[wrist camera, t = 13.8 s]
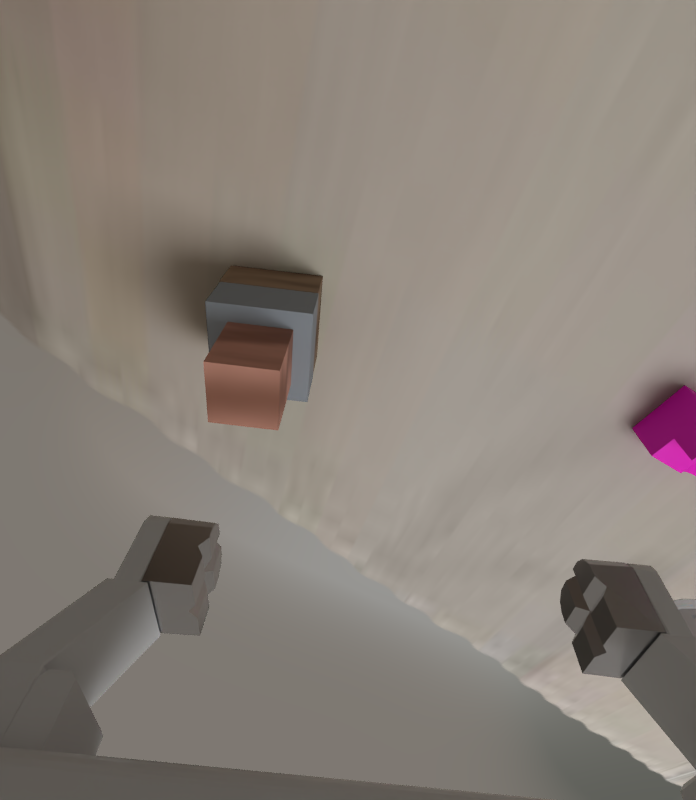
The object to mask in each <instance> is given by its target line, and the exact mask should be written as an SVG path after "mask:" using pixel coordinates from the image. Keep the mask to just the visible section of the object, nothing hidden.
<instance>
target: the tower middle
mask: <svg viewBox="0 0 696 800" xmlns="http://www.w3.org/2000/svg"><path fill="white" fill-rule="evenodd" d="M318 297H319V293H312V292H303V291H295V290H286V289H278V288H270V287H261V286H253V285H244V284H236V283H227V282H219V284H218V285H217V286H216V288H215V289H214V290H213V292H212V293H211V294H210V296H209V297H208V298H207V300H206V301H205V304H206V318H207V332H208V345H209V352H210V350H211V348H212V347H213V345H214V343H215V342H216V340H217V338H218V337H219V335H220V333H221V332H222V330H223V328H224V327H225V325H226V323H227V322H235V323H243V324H251V325H259V326H267V327H276V328H284V329H292V330H293V350H292V371H291V386H290V390H289V393H288V397H287V400H295V401H303V402H307V401H308V397H309V392H310V387H311V383H312V378H313V366H314V353H315V339H316V325H317V311H318Z"/></svg>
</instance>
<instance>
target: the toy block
mask: <svg viewBox="0 0 696 800" xmlns="http://www.w3.org/2000/svg"><path fill="white" fill-rule="evenodd" d="M632 429H633V430H634V432H635V433H636V435H637V436H638V437H639V439H640V440H641V442H642V443H643V444H644V446H645V447H646V449H647V450H648V451H649V453H650V454H651V456H653V457H654V458H656V459H658V460H659V461H661V462H663V463H665V464H666V465H668V466H670V467H671V468H673V469H675V470H676V471H678V472H680V473H682V472H688V473H691V474H693V475H695V476H696V392H694V391H693V390H691V389H690V388H688V387H687V386H685V385H684V386H683V387H682V388H681V389H679V390H678V391H677V392H676V393H675V394H673V395H672V396H671V397H670V398H668V399H667V400H666V401H665V402H664V403H662V404H661V405H660V406H659V407H657V408H656V409H655V410H654V411H653V412H651V413H650V414H649V415H648V416H646V417H645V418H644V419H643V420H642V421H640V422H639V423H638V424H637V425H635V426H634V427H633V428H632Z"/></svg>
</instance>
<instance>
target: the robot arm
mask: <svg viewBox="0 0 696 800" xmlns="http://www.w3.org/2000/svg"><path fill="white" fill-rule="evenodd" d="M219 534H220V531H219V524H217V523H210V522H202V521H195V520H186V519H178V518H170V517H161V516H152V515H150V516H149V517H148V518H147V519H146V520H145V521H144V523H143V524H142V526H141V528H140V530H139V532H138V534H137V536H136V538H135V540H134V542H133V543H132V545H131V547H130V549H129V551H128V553H127V555H126V557H125V559H124V561H123V562H122V564H121V566H120V568H119V570H118V572H117V574H116V576H115V578H114V579H108V578H107V579H105V580H104V581H103V582H101V583H100V584H98V585H97V586H96V587H94V588H93V589H92V590H90V591H89V592H87V593H86V594H85V595H83V596H82V597H81V598H79V599H78V600H76V601H75V602H73V603H72V604H71V605H69V606H68V607H66V608H65V609H64V610H62V611H61V612H60V613H58V614H57V615H56V616H54V617H53V618H51V619H50V620H48V621H47V622H46V623H44V624H43V625H42V626H40V627H39V628H37V629H36V630H35V631H33V632H32V633H30V634H29V635H28V636H26V637H25V638H23V639H22V640H21V641H19V642H18V643H16V644H15V645H14V646H12V647H11V648H10V649H8V650H7V651H5V652H4V653H2V654H1V655H0V800H552V799H541V798H531V797H520V796H510V795H500V794H489V793H478V792H468V791H459V790H448V789H437V788H427V787H417V786H407V785H406V786H405V785H396V784H386V783H375V782H365V781H354V780H344V779H334V778H324V777H313V776H302V775H292V774H281V773H272V772H261V771H250V770H240V769H230V768H219V767H209V766H199V765H187V764H178V763H167V762H157V761H146V760H136V759H126V758H115V757H105V756H96V753H97V751H98V748H99V745H100V743H101V741H102V738H103V734H102V731H101V729H100V727H99V725H98V723H97V721H96V719H95V717H94V715H93V713H92V711H91V708H90V707H91V706H92V705H93V704H94V703H95V702H96V701H97V700H98V699H99V697H100V696H102V695H103V694H104V693H105V691H107V690H108V688H109V687H110V686H111V685H112V684H113V683H114V682H115V681H116V680H117V679H118V678H119V677H120V676H121V675H122V674H123V673H124V672H125V671H126V670H127V669H128V668H129V667H130V666H131V665H132V664H133V663H134V662H135V661H136V660H137V659H138V658H139V657H140V656H141V655H142V654H143V653H144V652H145V651H146V650H147V649H148V648H149V647H150V646H151V645H152V644H153V642H155V641H156V640H157V639H158V637H159V636H160V633H170V634H183V635H198V636H199V635H200V634H201V631H202V628H203V625H204V622H205V619H206V616H207V612H208V609H209V600H208V594H209V593H210V592H211V591H213V590H214V589H215V587H216V584H217V580H218V577H219V572H220V567H221V557H222V556H221V555H222V552H221V546H220V545H219V544H218V543H217V540H218V537H219ZM573 570H574V573H575V576H574V577H572V578H570V579H569V580H567V581H566V582H565V584H564V586H563V588H562V590H561V598H560V604H561V611H562V615H563V618H564V621H565V623H566V624H567V625H568V626H569V627H570V628H571V630H572V631H573V632H574V633H575V636H574V639H573V641H572V644H573V647H574V650H575V653H576V656H577V659H578V662H579V665H580V667H581V670H582V673H584V674H592V675H600V676H607V677H615V678H623V679H622V680H621V681H622V682H623V683H624V684H625V685H626V687H627V688H628V689H629V690H630V691H631V693H632V694H633V695H634V696H635V697H636V699H637V700H638V701H639V702H640V703H641V705H642V706H643V707H644V708H645V709H646V711H647V712H648V713H649V714H650V715H651V717H652V718H653V719H654V720H655V721H656V723H657V724H658V725H659V726H660V727H661V729H662V730H663V731H664V732H665V733H666V735H667V736H668V737H669V738H670V739H671V741H672V742H673V743H674V744H675V745H676V747H677V748H678V749H679V750H680V751H681V752H682V754H683V755H684V756H685V757H686V758H687V760H688V761H689V762H690V763H691V764H692V766H693V767H694V768H695V769H696V637H695V636H693V635H692V633H691V631H690V629H689V628H688V626H687V624H686V622H685V621H684V619H683V617H682V615H681V613H680V612H679V610H678V608H677V606H676V605H675V603H674V601H673V599H672V598H671V596H670V594H669V592H668V591H667V589H666V587H665V585H664V583H663V582H662V580H661V578H660V576H659V575H658V573H657V571H656V570H655V569H654V568H653V567H651V566H647V565H637V564H625V563H622V562H610V561H599V560H587V559H582V560H580V561H578V562H577V563H576V565H575V566H574V568H573ZM680 793H681V795H682V798H683V800H696V776H694V777H693V778H692V779H690V780H689V781H688V782H686V783H685V784H684V785H683V786H682V789H681V790H680Z"/></svg>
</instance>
